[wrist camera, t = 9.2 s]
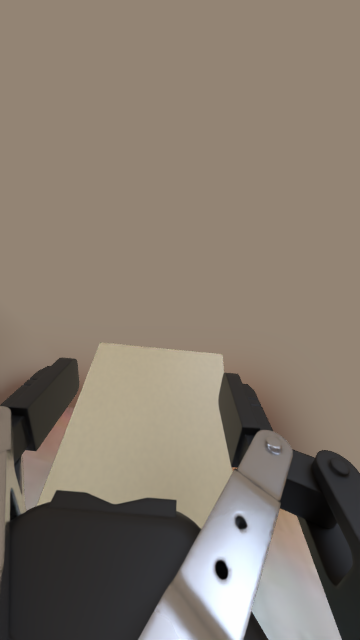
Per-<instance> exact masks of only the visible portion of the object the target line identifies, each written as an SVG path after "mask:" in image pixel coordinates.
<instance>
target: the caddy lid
mask: <svg viewBox="0 0 360 640" xmlns="http://www.w3.org/2000/svg"><path fill="white" fill-rule="evenodd" d="M223 374H224V367H223V356H222V354H213V353H203V352H193V351H183V350H172V349H162V348H151V347H142V346H131V345H120V344H110V343H100V344H99V347H98V349H97V352H96V355H95V357H94V360H93V362H92V365H91V367H90V370H89V372H88V375H87V378H86V380H85V383H84V385H83V388H82V391H81V393H80V396H79V398H78V401H77V404H76V406H75V408H74V411H73V414H72V416H71V419H70V421H69V424H68V426H67V429H66V432H65V434H64V437H63V439H62V442H61V444H60V447H59V450H58V452H57V455H56V457H55V460H54V462H53V465H52V468H51V470H50V473H49V475H48V478H47V480H46V483H45V486H44V488H43V491H42V493H41V496H40V498H39V501H38V504H37V506H38V505H41V504H44V503H47V502H51V500H52V498H53V496H54V494H55V492H56V490H63V491H75V492H86V493H89V494H91V495H93V496H96V497H98V498H100V499H103V500H105V501H107V502H109V503H112V504H120V503H124V502H129V501H134V500H138V499H143V498H147V497H148V498H160V499H172V500H177V506H176V511H178V512H180V513H182V514H184V515H186V516H187V517H189V518H190V519H191V520H192V521H194V522H195V523H196V524H197V525H198V526H199V527H200V528H201V529H202V527H203V525H204V524H205V522H206V520H207V518H208V516H209V514H210V513H211V511H212V509H213V507H214V505H215V503H216V502H217V500H218V498H219V496H220V494H221V492H222V491H223V489H224V487H225V485H226V483H227V481H228V480H229V478H230V476H231V474H232V467H231V463H230V459H229V454H228V449H227V444H226V439H225V435H224V430H223V425H222V420H221V416H220V411H219V405H218V398H219V392H220V387H221V382H222V377H223Z"/></svg>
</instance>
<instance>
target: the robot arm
mask: <svg viewBox="0 0 360 640" xmlns="http://www.w3.org/2000/svg"><path fill="white" fill-rule="evenodd" d="M78 388H79V375H78V364H77V360H76V359H71V358H59V359H58V360H57V361H56V362H55V363H54V364H53V365H52V366H47V367H45V368H43V369H42V370H39V371H38V372H37V373H35V374H34V375H33V376H32V377H31V378H30V380H28V381H27V382H25V383H24V385H22V386H21V387H20V388H19V389H18V390H16V391H15V392H14V393H13V394H12V395H11V396H10V397H9V398H8V399H7V400H5V401H4V402H3V403H2V404H1V405H0V640H268V638H267V637H266V635H265V633H264V632H263V630H262V628H261V626H260V625H259V623H258V621H257V620H256V618H255V616H254V615H253V613H252V611H251V610H252V607H253V603H254V599H255V596H256V592H257V589H258V585H259V581H260V578H261V574H262V571H263V567H264V563H265V560H266V556H267V553H268V549H269V546H270V542H271V538H272V535H273V531H274V528H275V524H276V520H277V517H278V513H279V509H280V508H281V509H283V510H285V511H288V512H290V513H292V514H294V515H296V516H297V517H298V520H299V523H300V525H301V528H302V531H303V534H304V537H305V539H306V542H307V545H308V548H309V550H310V553H311V556H312V559H313V561H314V564H315V567H316V570H317V572H318V575H319V578H320V581H321V583H322V586H323V589H324V592H325V594H326V597H327V600H328V603H329V605H330V608H331V611H332V614H333V616H334V619H335V622H336V625H337V627H338V630H339V633H340V636H341V638H342V640H360V473H359V472H358V470H357V469H356V468H355V467H354V466H353V465H352V464H351V463H350V462H349V461H348V460H346V459H345V458H343V457H342V456H340V455H339V454H337V453H334V452H332V451H328V450H322V451H319V452H318V453H317V455H316V457H315V458H314V457H312V456H309V455H306V454H303V453H301V452H298V451H295V450H293V449H292V448H291V446H290V445H289V443H288V442H287V441H286V440H285V439H284V438H283V437H282V436H281V435H279V434H277V433H276V432H273V430H272V427H271V425H270V423H269V421H268V419H267V417H266V415H265V413H264V410H263V408H262V407H261V404H260V402H259V400H258V398H257V396H256V393H255V391H254V390H253V389H252V388H251V387H250V386H249V385H248V384H242V382H241V379H240V377H239V375H238V374H233V373H224V374H223V377H222V382H221V387H220V392H219V398H218V405H219V411H220V416H221V420H222V425H223V430H224V435H225V439H226V444H227V449H228V454H229V459H230V463H231V467H238V468H237V469H235V470H234V471H233V472H232V474H231V476H230V478H229V480H228V481H227V483H226V485H225V487H224V489H223V491H222V492H221V494H220V496H219V498H218V500H217V502H216V503H215V505H214V507H213V509H212V511H211V513H210V514H209V516H208V518H207V520H206V522H205V524H204V525H203V527H202V529H201V528H200V527H199V526H198V525H197V524H196V523H195V522H194V521H192V520H191V519H190V518H189V517H187V516H186V515H184V514H182V513H180V512H178V511H176V506H177V500H172V499H160V498H148V497H147V498H143V499H138V500H134V501H129V502H124V503H120V504H112V503H109V502H107V501H105V500H103V499H100V498H98V497H96V496H93V495H91V494H89V493H86V492H75V491H63V490H56V492H55V494H54V496H53V498H52V500H51V502H47V503H44V504H41V505H38V506H36V507H34V508H31V509H29V510H28V511H26V508H25V496H24V472H23V458H22V454H23V452H24V451H25V450H30V451H37V449H38V448H39V447H40V445H41V444H42V442H43V441H44V439H45V438H46V437H47V435H48V434H49V432H50V431H51V429H52V428H53V427H54V425H55V424H56V422H57V421H58V419H59V418H60V417H61V415H62V414H63V412H64V411H65V409H66V408H67V407H68V405H69V404H70V402H71V401H72V399H73V398H74V397H75V395H76V393H77V391H78Z"/></svg>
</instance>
